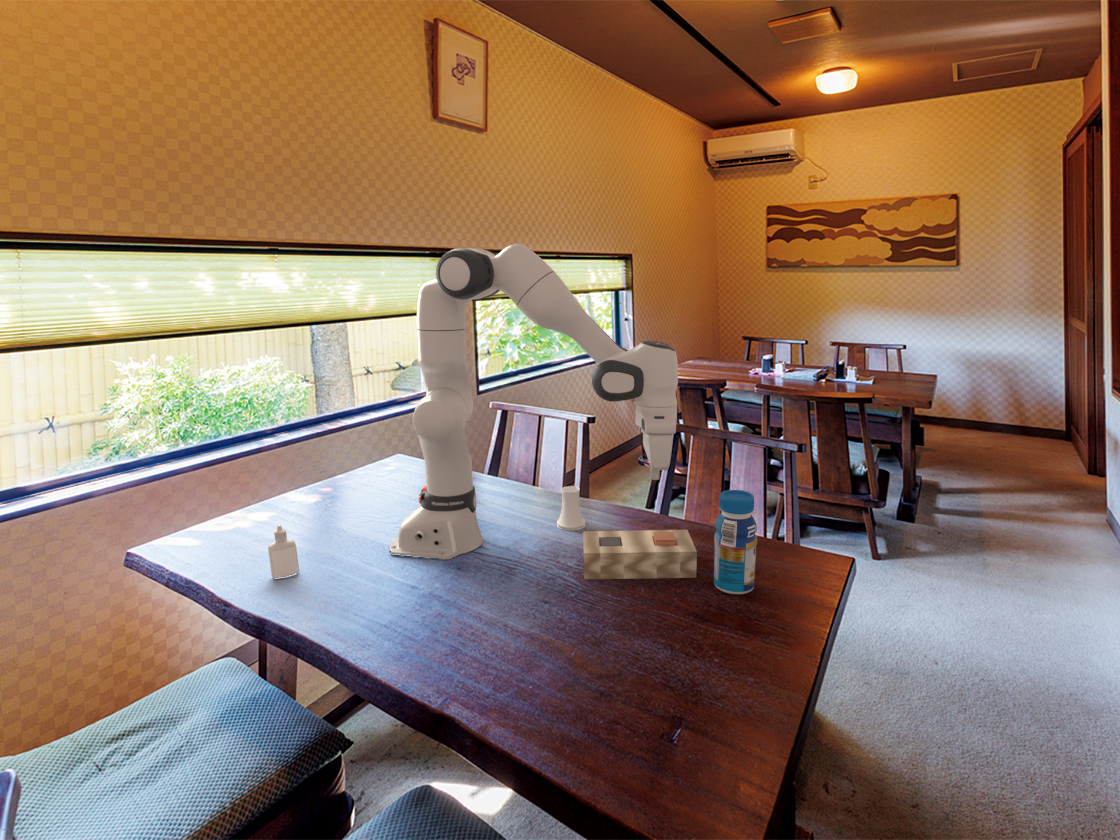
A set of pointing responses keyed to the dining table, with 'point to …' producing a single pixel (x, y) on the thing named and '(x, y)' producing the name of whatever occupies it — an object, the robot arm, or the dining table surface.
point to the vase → (570, 510)
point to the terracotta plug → (664, 538)
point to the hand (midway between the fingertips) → (654, 477)
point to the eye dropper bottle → (283, 555)
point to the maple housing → (638, 556)
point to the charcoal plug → (610, 541)
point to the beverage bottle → (735, 543)
